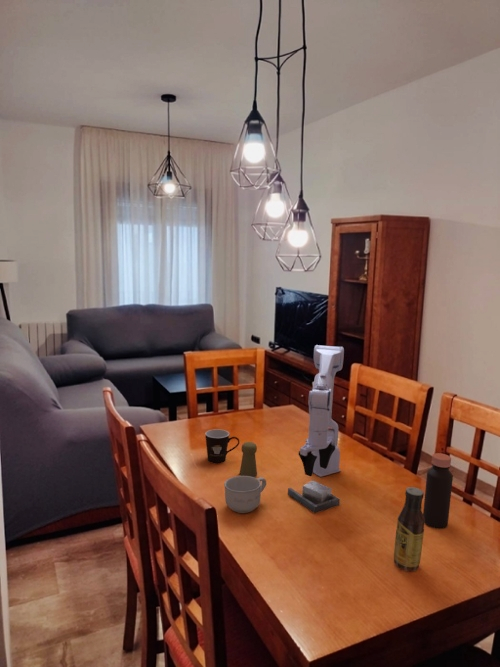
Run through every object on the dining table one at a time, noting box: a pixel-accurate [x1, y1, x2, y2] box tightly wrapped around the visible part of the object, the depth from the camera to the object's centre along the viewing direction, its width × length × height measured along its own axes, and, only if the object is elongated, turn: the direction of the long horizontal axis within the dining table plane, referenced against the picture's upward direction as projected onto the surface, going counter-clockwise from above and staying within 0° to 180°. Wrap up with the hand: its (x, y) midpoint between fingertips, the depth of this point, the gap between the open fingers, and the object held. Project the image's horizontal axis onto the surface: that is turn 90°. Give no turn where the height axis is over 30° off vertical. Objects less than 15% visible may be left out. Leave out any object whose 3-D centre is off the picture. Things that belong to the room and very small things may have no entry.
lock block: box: [301, 480, 332, 505], centre depth 148 cm, size 5×7×5 cm
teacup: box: [223, 475, 267, 514], centre depth 144 cm, size 14×11×8 cm
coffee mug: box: [204, 428, 240, 465], centre depth 175 cm, size 12×9×10 cm
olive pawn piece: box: [239, 441, 258, 478], centre depth 165 cm, size 6×6×11 cm
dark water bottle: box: [422, 452, 454, 530], centre depth 137 cm, size 7×7×20 cm
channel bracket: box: [287, 487, 341, 514], centre depth 149 cm, size 10×13×2 cm
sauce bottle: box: [393, 486, 425, 573], centre depth 117 cm, size 6×6×20 cm
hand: (316, 471), depth 148 cm, fingers open, 7 cm apart
